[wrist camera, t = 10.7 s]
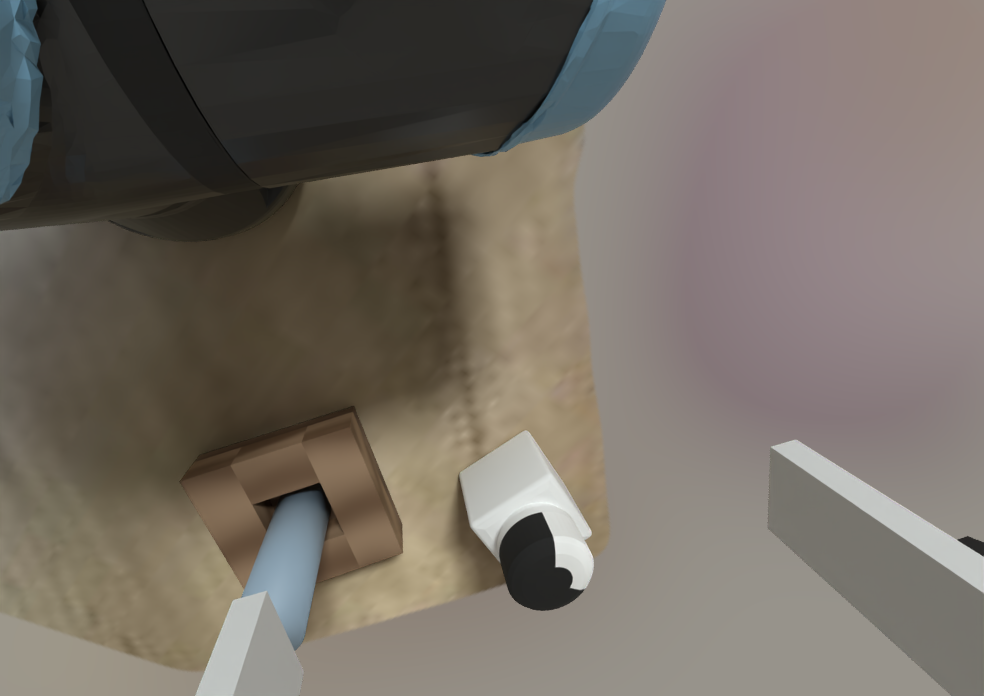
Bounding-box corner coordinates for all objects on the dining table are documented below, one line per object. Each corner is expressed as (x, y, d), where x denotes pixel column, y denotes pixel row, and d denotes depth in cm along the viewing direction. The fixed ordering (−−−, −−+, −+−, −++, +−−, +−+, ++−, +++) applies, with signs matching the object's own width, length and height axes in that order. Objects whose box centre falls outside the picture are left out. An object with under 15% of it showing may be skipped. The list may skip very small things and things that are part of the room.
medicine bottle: (498, 525, 43) (535, 642, 32) (456, 472, 40) (479, 579, 29) (564, 483, 43) (623, 585, 32) (526, 427, 40) (575, 517, 29)
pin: (270, 490, 37) (215, 622, 25) (320, 473, 37) (288, 596, 26) (291, 529, 38) (247, 670, 27) (339, 513, 38) (316, 645, 27)
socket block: (199, 455, 36) (179, 481, 32) (353, 406, 37) (349, 427, 33) (265, 571, 40) (253, 605, 37) (402, 524, 41) (402, 553, 38)
